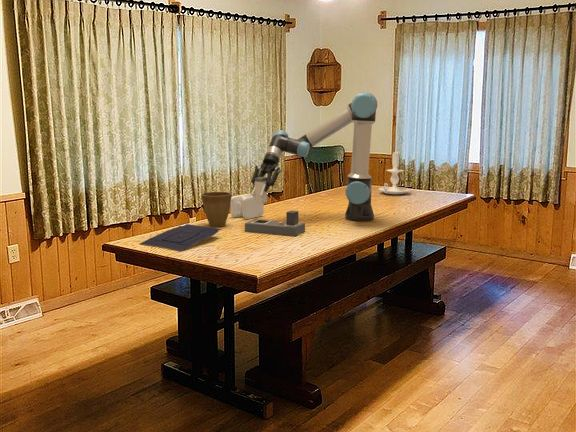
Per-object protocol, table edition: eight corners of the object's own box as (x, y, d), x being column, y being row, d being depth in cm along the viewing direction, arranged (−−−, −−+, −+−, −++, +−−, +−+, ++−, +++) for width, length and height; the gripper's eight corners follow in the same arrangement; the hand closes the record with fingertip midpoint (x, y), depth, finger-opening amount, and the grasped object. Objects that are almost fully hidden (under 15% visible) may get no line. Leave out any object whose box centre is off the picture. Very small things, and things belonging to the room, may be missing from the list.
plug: (267, 201, 299) (266, 177, 297) (262, 203, 295) (262, 178, 292) (259, 200, 301) (259, 176, 298) (255, 202, 297) (254, 178, 294)
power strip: (305, 231, 292) (305, 210, 290) (295, 236, 281) (295, 214, 279) (255, 226, 302) (255, 206, 300) (244, 231, 291) (244, 210, 289)
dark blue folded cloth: (225, 235, 279) (224, 227, 277) (182, 257, 254) (181, 249, 253) (184, 229, 291) (183, 221, 290) (139, 249, 267) (138, 241, 266)
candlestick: (369, 195, 397) (370, 152, 392) (387, 190, 417) (388, 149, 411) (398, 198, 385) (400, 153, 380) (415, 193, 405) (417, 150, 399)
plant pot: (235, 223, 310) (235, 191, 307) (226, 229, 296) (225, 196, 293) (208, 221, 314) (207, 190, 310) (197, 227, 299) (196, 195, 296)
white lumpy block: (243, 220, 317) (243, 198, 315) (229, 217, 324) (229, 196, 322) (264, 216, 328) (263, 195, 325) (250, 213, 335) (250, 192, 332)
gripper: (290, 163, 304) (275, 202, 293) (259, 161, 311) (244, 199, 300) (285, 153, 298) (270, 193, 287) (254, 152, 305) (238, 190, 294)
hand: (257, 196), depth 294 cm, fingers closed on plug, 4 cm apart
